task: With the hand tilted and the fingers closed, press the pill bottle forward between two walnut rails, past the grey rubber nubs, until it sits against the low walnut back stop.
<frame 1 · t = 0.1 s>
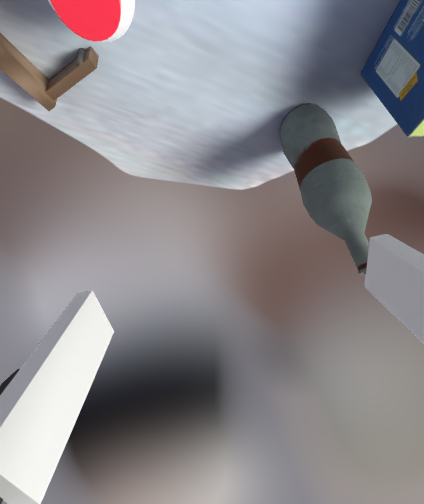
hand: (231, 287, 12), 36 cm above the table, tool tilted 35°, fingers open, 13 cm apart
dock: (32, 18, 28), on the table
grey-green bottle: (300, 124, 45), on the table
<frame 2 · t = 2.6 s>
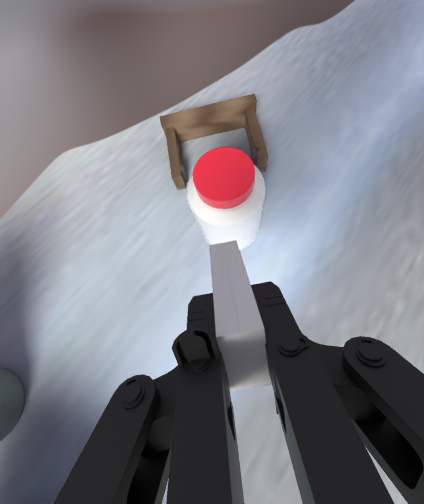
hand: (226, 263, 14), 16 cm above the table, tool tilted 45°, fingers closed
pill bottle: (229, 223, 32), on the table
dock: (216, 159, 35), on the table
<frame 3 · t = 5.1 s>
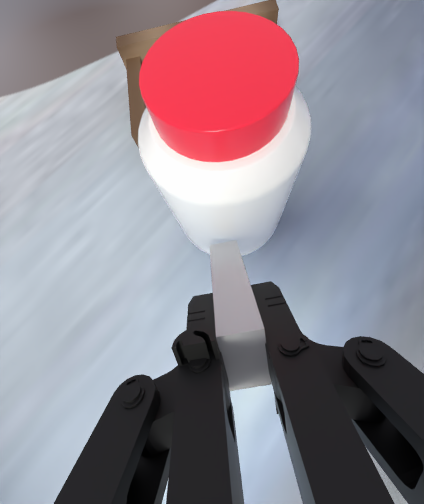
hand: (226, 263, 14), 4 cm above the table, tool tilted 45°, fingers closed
pill bottle: (228, 211, 19), on the table, touching gripper
dock: (210, 113, 22), on the table
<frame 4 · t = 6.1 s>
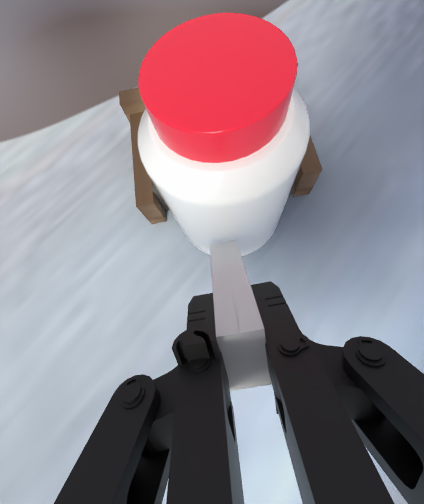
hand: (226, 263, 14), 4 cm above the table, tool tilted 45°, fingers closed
pill bottle: (228, 211, 19), on the table, touching gripper
dock: (221, 170, 20), on the table
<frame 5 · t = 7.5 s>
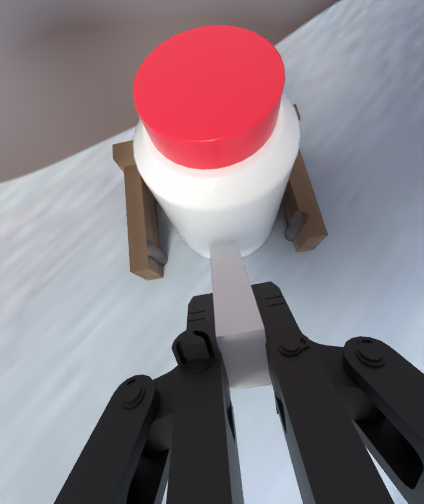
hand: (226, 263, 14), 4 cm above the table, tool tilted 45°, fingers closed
pill bottle: (224, 214, 19), on the table, touching dock, gripper
dock: (220, 221, 19), on the table
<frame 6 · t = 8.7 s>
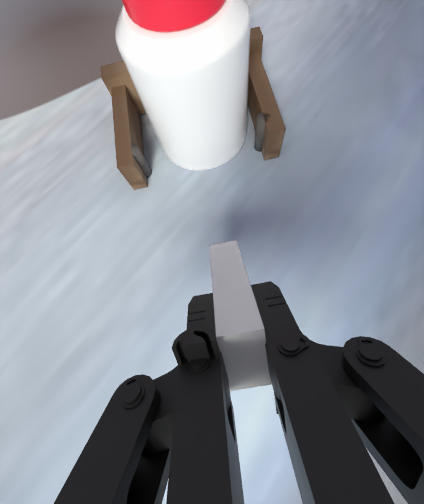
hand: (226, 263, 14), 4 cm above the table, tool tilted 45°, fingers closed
pill bottle: (202, 135, 22), on the table
dock: (198, 139, 21), on the table
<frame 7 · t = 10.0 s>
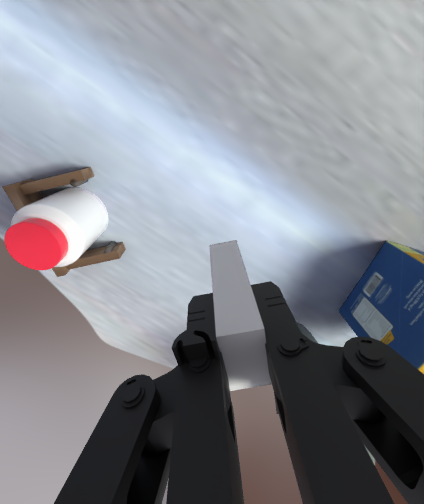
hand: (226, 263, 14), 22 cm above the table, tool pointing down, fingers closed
pill bottle: (81, 214, 35), on the table
dock: (85, 216, 35), on the table
protein box: (383, 284, 43), on the table
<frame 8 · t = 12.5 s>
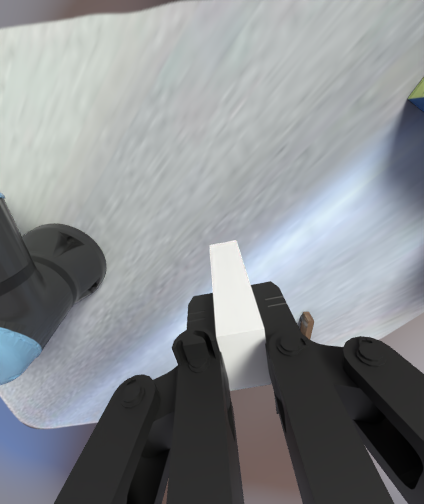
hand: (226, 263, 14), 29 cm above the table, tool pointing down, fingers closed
dock: (279, 325, 56), on the table
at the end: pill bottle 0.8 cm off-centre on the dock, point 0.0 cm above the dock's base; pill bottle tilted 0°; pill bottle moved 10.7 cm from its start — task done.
